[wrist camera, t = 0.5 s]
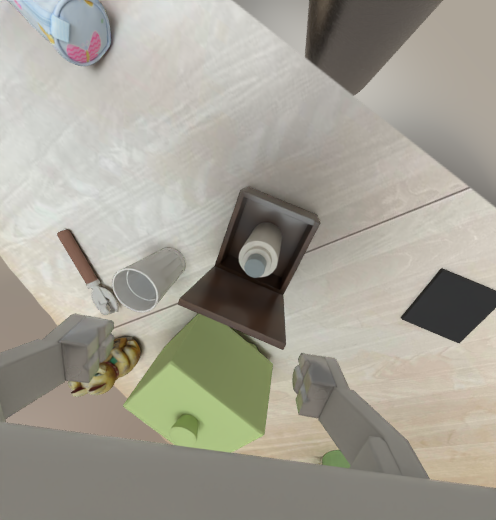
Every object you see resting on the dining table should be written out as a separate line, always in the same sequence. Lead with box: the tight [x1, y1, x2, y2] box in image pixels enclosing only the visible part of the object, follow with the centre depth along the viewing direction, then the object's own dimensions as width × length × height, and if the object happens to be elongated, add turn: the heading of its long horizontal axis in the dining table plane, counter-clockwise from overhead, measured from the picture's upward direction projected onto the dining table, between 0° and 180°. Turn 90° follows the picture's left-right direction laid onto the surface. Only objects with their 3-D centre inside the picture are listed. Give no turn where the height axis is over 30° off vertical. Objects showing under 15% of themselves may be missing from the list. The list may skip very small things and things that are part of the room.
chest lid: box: [178, 266, 286, 350], centre depth 33 cm, size 14×13×1 cm
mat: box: [401, 269, 496, 343], centre depth 41 cm, size 11×11×1 cm
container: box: [123, 313, 273, 453], centre depth 46 cm, size 19×16×20 cm
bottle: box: [239, 223, 282, 278], centre depth 36 cm, size 5×5×14 cm
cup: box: [112, 248, 186, 312], centre depth 43 cm, size 8×8×12 cm
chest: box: [215, 186, 320, 295], centre depth 40 cm, size 14×13×6 cm
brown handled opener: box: [57, 230, 118, 315], centre depth 52 cm, size 20×6×3 cm, turn 21°
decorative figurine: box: [68, 337, 141, 397], centre depth 53 cm, size 10×8×15 cm
